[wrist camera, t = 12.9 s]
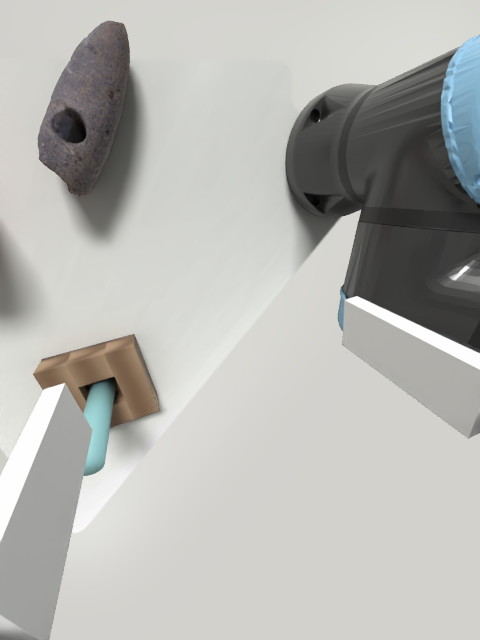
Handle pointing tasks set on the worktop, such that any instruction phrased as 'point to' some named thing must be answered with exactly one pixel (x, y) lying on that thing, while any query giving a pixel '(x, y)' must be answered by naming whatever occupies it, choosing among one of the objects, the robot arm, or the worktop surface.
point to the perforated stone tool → (86, 108)
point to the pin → (99, 422)
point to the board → (104, 376)
